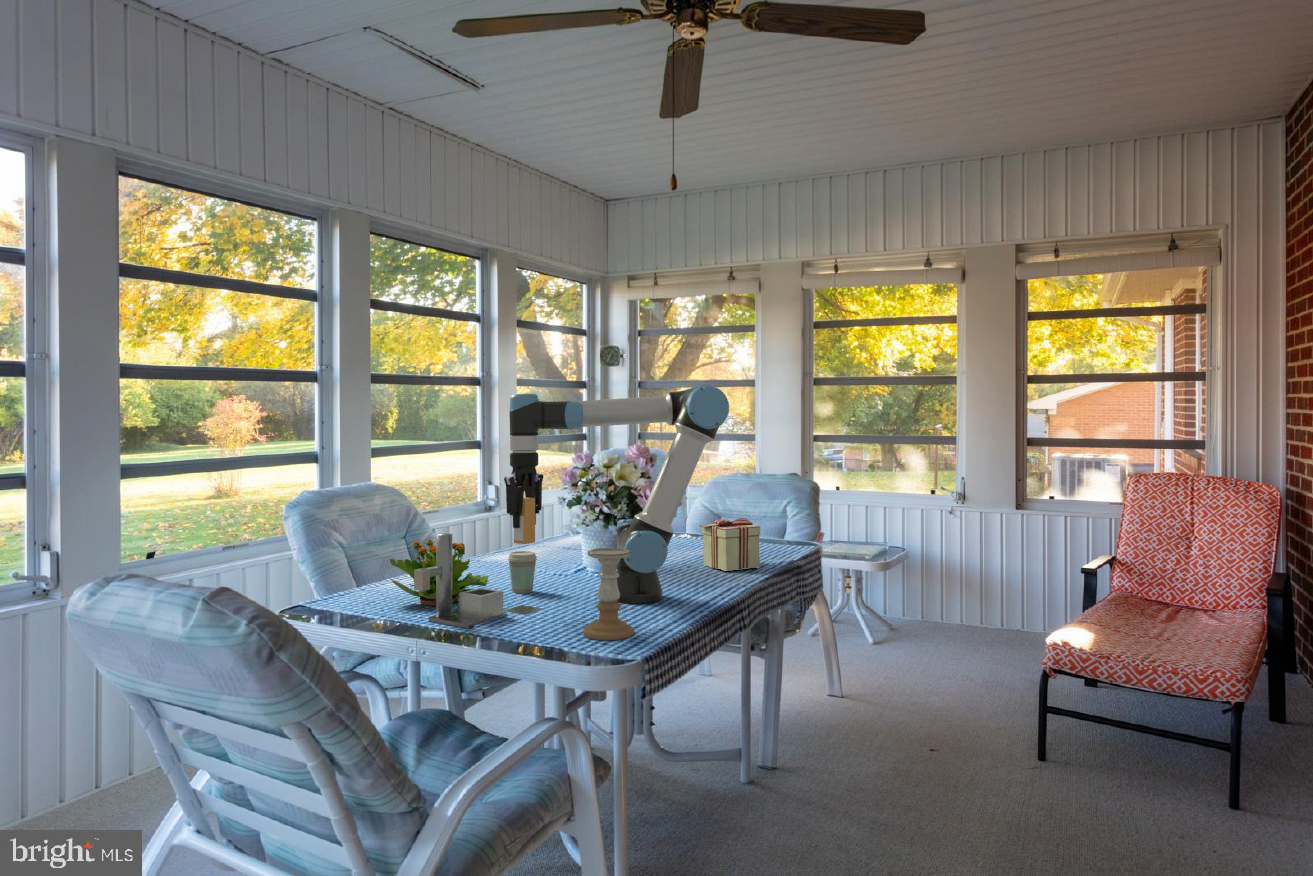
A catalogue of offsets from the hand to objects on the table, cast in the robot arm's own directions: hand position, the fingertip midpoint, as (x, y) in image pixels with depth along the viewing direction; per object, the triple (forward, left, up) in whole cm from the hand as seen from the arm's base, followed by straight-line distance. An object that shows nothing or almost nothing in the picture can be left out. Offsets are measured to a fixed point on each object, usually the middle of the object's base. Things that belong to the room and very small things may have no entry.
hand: (524, 538), depth 222 cm
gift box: (-15, -91, -20) cm, 94 cm away
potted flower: (+28, +5, -20) cm, 35 cm away
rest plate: (0, 0, -20) cm, 20 cm away
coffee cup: (+16, -18, -20) cm, 31 cm away
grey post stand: (+7, +17, -20) cm, 27 cm away
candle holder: (-32, +6, -20) cm, 38 cm away
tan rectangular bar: (0, 0, -1) cm, 1 cm away
